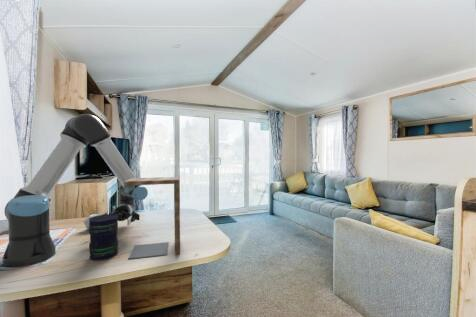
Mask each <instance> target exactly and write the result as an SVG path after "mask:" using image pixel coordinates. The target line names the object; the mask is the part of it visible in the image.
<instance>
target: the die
mask: <svg viewBox="0 0 476 317" xmlns="http://www.w3.org/2000/svg"><path fill="white" fill-rule="evenodd" d="M99 215H101V214H99V213H98V214H94V213H93V214H90V215H89V216H88V217H86V218H85V220H83V224H84V226H85V228H86V230H87V231H89V223H90V222H89V219H90V218H92V217H95V216H99Z"/></svg>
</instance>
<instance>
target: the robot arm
mask: <svg viewBox="0 0 476 317" xmlns="http://www.w3.org/2000/svg"><path fill="white" fill-rule="evenodd" d="M59 136H60V140H59V142H58V143H57V145H56V146H55V148H54V149H53V150H52V152H51V153H50V154H49V156H48V157H47V159H45V162H43V164H42V165H41V167H40V168H39V170H38V171H37V172H36V174H35V175H34V177H33V178H32V179H31V181H30V182H29V183H28V185H26V186H23V187H20V188H19V190H18V192H16V194H15V195H14V196H13V197H12V198H11V199H10V200H9V201H8V202H7V203H6V205H5V207H4V216H5V218H6V219H7V221H8V243H7V244H6V248H5V251H4V253H3V256H2V262H1V264H2V263H3V265H6V266H18V267H22V266H21V265H24V266H28V264H29V265H32V264H36V263H40V262H43V261H45V260H47V259H49V258H51V257H53V256H54V255H56V251H57V250H56V245H55V242H54V240H53V238H52V237H51V234H50V233H51V232H50V230H51V229H50V225H51V224H50V206H51V205H50V202H51V201H52V196H51V193H52V192H53V191H54V189H55V187H56V186H57V184H58V183H59V182H60V180H61V179H62V178H63V176H64V174H65V173H66V171H67V170H68V168H69V167H70V166H71V163H72V162H73V160H74V159H76V156H77V154H78V153H79V152H80V150H81V149H84V148H87V146H88V145H90V147H95V149H96V152H97V151H98V154H99V155H100V156H101V158H102V159H103V160H104V162H105V163H106V165H107V166H108V167H109V169H110V170H111V171H112V173H113V174H114V176H115V177H116V179H117V180H118V182H119V185H118V197H119V198H118V199H119V202H118V203H119V204H118V206H117V207H115V209H114V210H113V211H112V212H111V213H108V212H105V213H103V214H100V215H109V214H113V215H117V216H118V218H117V219H118V222H123V221H126V220H127V222H126V223H127V226H128V227H129V226H130V225H131V224H132V223H133V222H135V221H140V214H139V213H137V212H136V211H135V209H136V203H135V201H139V202H140V201H143V200H146V198H147V196H148V194H149V192H148V189H147V187H145V185H135V189H133V190H132V191H131V192H129V193H128V194H124V181H127V180H129V179H131V178H137V177H136V175H135V174H134V172H133V171H132V169H131V168H130V166H129V165H128V163H127V162H126V160H125V158H124V157H123V156H122V153H120V151H119V150H118V147H117V146H116V145H115V143H114V142H113V141H112V139H111V138H112V135H111V133H110V132H109V130H108V129H107V127H106V125H105V124H104V123H103V122H102V120H101V119H100V118H98V117H97V116H96V115H93V114H92V113H91V114H90V113H82V114H79V115H77V116H74V117H72V118H70V119H68V120H67V121H66V123H65V125H64V128H63V130H62V131H61V132H60V134H59ZM100 215H99V216H100ZM3 265H2V266H3ZM6 266H5V267H6Z"/></svg>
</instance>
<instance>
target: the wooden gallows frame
mask: <svg viewBox="0 0 476 317" xmlns="http://www.w3.org/2000/svg"><path fill="white" fill-rule="evenodd" d="M135 185H141V186H152V185H154V186H155V185H173V189H174V190H173V195H174V196H173V206H174V207H173V211H174V212H173V213H174V255H175V256H176V255H181V216H180V215H181V210H180V209H181V207H180V205H181V204H180V202H181V201H180V200H181V198H180V197H181V196H180V194H181V190H180V176H161V177H136V178H131V179H129V180H127V181H124V194H128V193H129V192H131V191H132V190H133V189H135Z"/></svg>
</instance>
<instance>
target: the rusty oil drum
mask: <svg viewBox="0 0 476 317" xmlns="http://www.w3.org/2000/svg"><path fill="white" fill-rule="evenodd" d="M108 214H109V215H102V214H100V216H95V217H92V218H90V219H89V222H90V223H89V230H88V234H89V248H88V253H89V260H90V261H93V262H100V261H101V262H102V261H106V260H109V259H112V258H115V257H116V256H118V254H119V251H118V250H119V239H118V230H119V221H118V219H117V218H118V216H117V215H113V214H110V213H108Z"/></svg>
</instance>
